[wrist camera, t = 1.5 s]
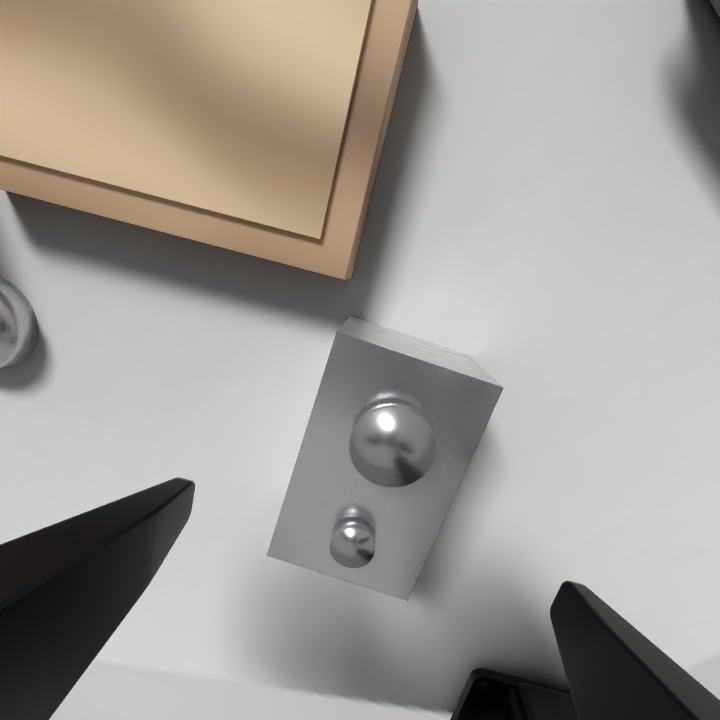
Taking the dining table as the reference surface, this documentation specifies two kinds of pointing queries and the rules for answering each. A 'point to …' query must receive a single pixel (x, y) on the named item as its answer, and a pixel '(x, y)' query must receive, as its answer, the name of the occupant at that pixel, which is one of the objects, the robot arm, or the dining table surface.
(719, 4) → the electrical switch
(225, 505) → the dining table surface
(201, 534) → the dining table surface
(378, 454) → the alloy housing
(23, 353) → the chrome dome knob
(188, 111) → the tan shallow rectangular tray
